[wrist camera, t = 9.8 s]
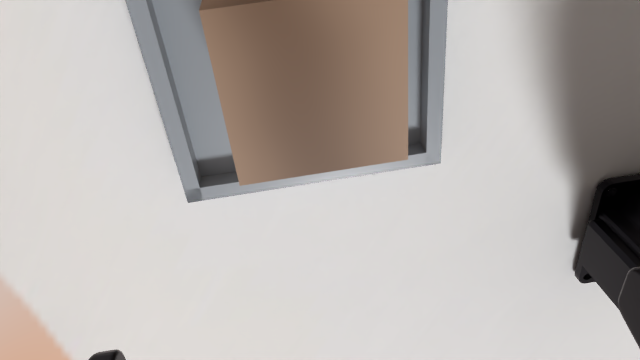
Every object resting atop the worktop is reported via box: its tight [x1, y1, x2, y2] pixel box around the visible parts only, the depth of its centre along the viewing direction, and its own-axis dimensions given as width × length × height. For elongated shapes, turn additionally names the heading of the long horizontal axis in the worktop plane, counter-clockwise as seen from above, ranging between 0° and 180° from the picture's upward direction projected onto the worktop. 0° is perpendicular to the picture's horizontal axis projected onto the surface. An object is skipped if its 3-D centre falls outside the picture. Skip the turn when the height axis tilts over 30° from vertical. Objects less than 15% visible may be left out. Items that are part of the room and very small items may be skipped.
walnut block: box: [199, 0, 408, 186], centre depth 15 cm, size 5×5×5 cm
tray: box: [125, 0, 448, 203], centre depth 17 cm, size 10×10×1 cm
